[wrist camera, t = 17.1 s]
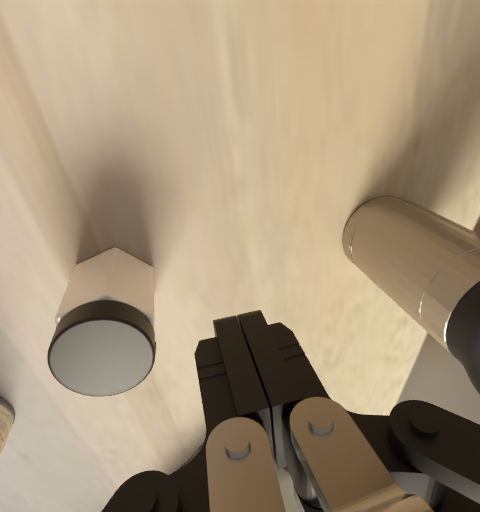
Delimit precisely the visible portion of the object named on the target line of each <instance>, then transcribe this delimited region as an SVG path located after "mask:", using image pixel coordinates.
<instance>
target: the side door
mask: <svg viewBox="0 0 480 512" xmlns="http://www.w3.org/2000/svg"><path fill="white" fill-rule="evenodd" d="M274 463H275V462H274ZM275 469H276V473H277V477H278V481H279V486H280V490H281V494H282V498H283V502H284V506H285V511H286V512H300V510H299V508H298V505H297V503H296V500H295V497H294V490H293V481H292V478H291V475H290V473H288V472H287V471H286V470H284V469H283V468H281V469H277V466H276V463H275Z"/></svg>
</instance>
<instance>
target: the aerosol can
mask: <svg viewBox="0 0 480 512" xmlns="http://www.w3.org/2000/svg"><path fill="white" fill-rule="evenodd" d="M14 419H15V412H14V409H13V407H12V406H11V405H10V404H9V403H8V402H6V401H5V400H3V399H1V398H0V456H1V453H2V451H3V448H4V446H5V443H6V440H7V438H8V435H9V433H10V430H11V428H12V424H13V422H14Z"/></svg>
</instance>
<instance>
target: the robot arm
mask: <svg viewBox="0 0 480 512" xmlns="http://www.w3.org/2000/svg"><path fill="white" fill-rule="evenodd" d="M343 248H344V251H345V254H346V255H347V257H348V259H349V260H351V261H352V262H353V263H354V264H355V265H356V266H357V267H358V268H359V269H360V270H361V271H362V272H363V273H364V274H365V275H366V276H367V277H369V278H370V279H371V280H372V281H373V282H374V283H375V284H376V285H377V286H378V287H379V288H380V289H382V290H383V291H384V292H385V293H386V294H387V295H388V296H389V297H390V298H391V299H392V300H393V301H395V302H396V303H397V304H398V305H399V306H400V307H401V308H402V309H403V310H404V311H405V312H406V313H407V314H409V315H410V316H411V317H412V318H413V319H414V320H415V321H416V322H417V323H418V324H419V325H420V326H422V327H423V328H424V329H425V330H426V331H427V332H428V333H429V334H430V335H431V336H433V337H434V338H435V339H436V340H437V341H438V342H439V343H440V344H441V345H442V346H443V347H444V348H446V349H447V350H448V351H449V352H450V353H451V354H452V355H453V356H454V357H456V359H458V360H459V361H460V362H461V364H462V365H463V366H464V368H465V370H466V372H467V374H468V376H469V378H470V380H471V382H472V384H473V386H474V387H475V389H476V390H477V392H478V393H479V394H480V239H479V238H477V235H476V233H475V232H473V231H472V230H469V229H467V228H465V227H463V226H461V225H459V224H457V223H455V222H453V221H451V220H449V219H447V218H445V217H443V216H440V215H438V214H436V213H434V212H432V211H430V210H428V209H426V208H424V207H422V206H420V205H418V204H416V203H407V202H405V201H403V200H401V199H399V198H396V197H391V196H383V197H378V198H375V199H372V200H370V201H368V202H367V203H365V204H363V205H362V206H361V207H360V208H359V209H357V210H356V211H355V213H354V214H353V215H352V216H351V217H350V219H349V221H348V223H347V225H346V227H345V230H344V234H343ZM213 325H214V331H215V337H214V338H209V339H205V340H201V341H199V343H198V346H197V349H196V351H195V360H196V366H197V373H198V379H199V385H200V391H201V397H202V404H203V410H204V416H205V422H206V438H205V441H204V444H203V446H202V448H201V449H200V451H199V452H198V454H197V455H196V456H195V457H194V458H193V459H192V460H191V461H190V462H188V463H187V464H186V465H184V466H183V467H181V468H180V469H178V470H177V471H175V472H173V473H172V474H170V475H169V476H168V475H167V474H165V473H163V472H160V471H154V470H153V471H145V472H141V473H138V474H136V475H134V476H132V477H131V478H129V479H128V480H127V481H125V482H124V483H123V484H122V485H121V486H120V487H119V488H118V490H117V491H116V492H115V493H114V495H113V496H112V498H111V499H110V500H109V502H108V503H107V505H106V506H105V507H104V509H103V510H102V512H286V511H285V506H284V502H283V498H282V494H281V490H280V486H279V481H278V477H277V473H276V469H275V463H276V466H277V469H281V468H285V467H288V470H289V473H290V475H291V478H292V481H293V490H294V497H295V500H296V503H297V505H298V508H299V510H300V512H480V425H479V424H477V423H474V422H472V421H470V420H468V419H465V418H463V417H461V416H458V415H456V414H454V413H451V412H449V411H447V410H444V409H442V408H440V407H438V406H435V405H433V404H430V403H428V402H424V401H418V400H408V401H403V402H401V403H399V404H397V405H396V406H395V407H394V408H393V409H392V411H391V413H390V416H383V415H362V414H356V413H352V412H350V411H347V410H345V409H344V408H343V407H342V406H341V405H340V404H339V403H337V402H335V401H333V400H331V398H330V397H329V396H328V394H327V392H326V391H325V389H324V387H323V385H322V383H321V382H320V380H319V378H318V376H317V375H316V373H315V371H314V369H313V367H312V366H311V364H310V362H309V360H308V358H307V357H306V356H305V353H304V351H303V349H302V348H301V346H300V345H299V342H298V340H297V339H296V337H295V335H294V333H293V331H291V330H290V329H289V328H287V327H286V326H285V325H283V324H282V323H280V322H279V323H275V324H270V325H267V322H266V320H265V318H264V316H263V314H262V312H261V311H260V310H258V311H253V312H248V313H244V314H239V315H237V317H236V315H235V316H231V317H226V318H222V319H217V320H213ZM274 460H275V463H274Z"/></svg>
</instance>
